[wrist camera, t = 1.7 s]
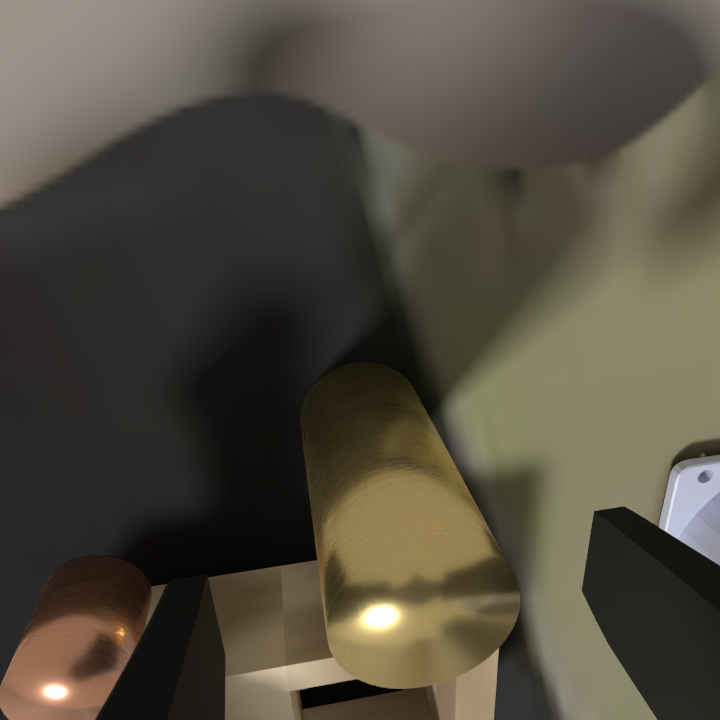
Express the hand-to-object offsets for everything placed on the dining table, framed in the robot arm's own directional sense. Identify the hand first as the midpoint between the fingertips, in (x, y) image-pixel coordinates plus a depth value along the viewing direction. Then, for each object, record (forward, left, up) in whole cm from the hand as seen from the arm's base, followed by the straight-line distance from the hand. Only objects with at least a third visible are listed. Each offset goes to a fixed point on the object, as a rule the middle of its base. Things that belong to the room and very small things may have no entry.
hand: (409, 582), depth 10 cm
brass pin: (0, 0, -6) cm, 6 cm away
